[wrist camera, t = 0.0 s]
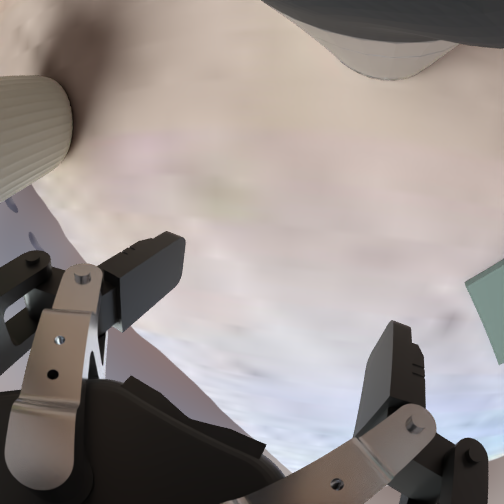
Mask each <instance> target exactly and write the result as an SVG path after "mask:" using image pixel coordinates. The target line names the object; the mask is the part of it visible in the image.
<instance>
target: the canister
mask: <svg viewBox="0 0 504 504" xmlns="http://www.w3.org/2000/svg"><path fill="white" fill-rule="evenodd" d="M72 123H73V120H72V112H71V107H70V101H69V100H68V96H67V95H66V93H65V90H64V89H63V88H62V86H61V85H60V84H58V82H56V81H55V80H53V79H51V78H49V77H44V76H35V75H30V76H3V77H0V203H1V202H3V201H4V200H6V199H7V198H9V197H11V196H12V195H14V194H16V193H17V192H19V191H20V190H22V189H24V188H25V187H27V186H28V185H30V184H32V183H33V182H35V181H36V180H38V179H40V178H41V177H43V176H45V175H46V174H48V173H49V172H51V171H52V170H54V169H55V168H56V167H57V166H58V165H59V164H60V163H61V162H62V161H63V159H64V157H65V156H66V154H67V151H68V149H69V147H70V143H71V137H72V129H73V126H72Z"/></svg>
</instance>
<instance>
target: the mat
mask: <svg viewBox="0 0 504 504" xmlns="http://www.w3.org/2000/svg"><path fill="white" fill-rule="evenodd" d="M465 285H466V288H467V290H468V292H469V294H470V296H471V298H472V301H473V303H474V305H475V307H476V309H477V312H478V314H479V316H480V318H481V321H482V323H483V325H484V328H485V330H486V333H487V335H488V338H489V340H490V343H491V345H492V348H493V350H494V353H495V356H496V358H497V361H498V364H499V365H500V364H502V363H504V259H503V260H501V261H500V262H498V263H497V264H495V265H493V266H492V267H490V268H488V269H487V270H485V271H483V272H482V273H480V274H478V275H477V276H475V277H473V278H471V279H470V280H468V281H466V282H465Z"/></svg>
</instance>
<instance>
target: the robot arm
mask: <svg viewBox="0 0 504 504" xmlns="http://www.w3.org/2000/svg"><path fill="white" fill-rule="evenodd" d="M261 1H263V2H264V3H266V4H267V5H269V6H270V7H272V8H273V9H274V10H276V11H277V12H279V13H280V14H282V15H283V16H284V17H286V18H287V19H289V20H290V21H291V22H293V23H294V24H296V25H297V26H298V27H300V28H301V29H302V30H304V31H305V32H306V33H308V34H309V35H310V36H311V37H313V38H314V39H315V40H316V41H318V42H319V43H320V44H321V45H323V46H324V47H325V48H326V49H327V50H329V51H330V52H331V53H332V54H333V55H334V56H336V57H337V58H338V59H339V60H340V62H342V63H343V64H344V65H346V66H347V67H349V68H350V69H352V70H354V71H355V72H357V73H359V74H362V75H364V76H367V77H369V78H374V79H378V80H391V81H394V80H400V79H406V78H408V77H411V76H413V75H416V74H417V73H419V72H420V71H422V70H423V69H425V68H427V67H428V66H430V65H431V64H432V63H434V62H435V61H436V60H438V59H439V58H441V57H442V56H443V55H445V54H446V53H448V52H449V51H450V50H452V49H453V48H455V47H456V46H458V45H459V44H465V45H470V46H479V47H489V48H499V49H501V48H504V0H261ZM185 244H186V242H185V239H184V238H183V237H181V236H178V235H176V234H173V233H171V232H168V231H166V232H164V233H162V234H160V235H158V236H157V237H155V238H153V239H152V238H150V239H146V240H142V241H138V242H137V243H135V244H133V245H132V246H130V248H126V249H125V250H123V251H122V253H121V252H120V253H118V254H116V255H115V256H113V257H111V258H110V259H108V260H106V261H105V262H103V263H102V264H100V265H98V266H95V265H92V264H76V265H73V266H71V267H69V268H68V269H67V270H66V271H65V270H62V269H58V268H55V267H52V266H51V259H50V256H49V254H48V253H46V252H44V251H39V250H35V251H29V252H27V253H24V254H22V255H20V256H19V257H17V258H15V259H14V260H12V261H10V262H9V263H7V264H5V265H4V266H2V267H0V375H2V373H4V372H5V371H6V370H7V369H8V368H9V367H10V366H11V365H13V364H14V363H15V362H16V361H17V360H18V359H19V358H21V357H22V356H23V355H24V354H25V353H26V352H27V351H29V349H31V351H30V355H29V359H28V362H27V366H26V370H25V375H24V379H23V384H22V389H21V390H14V391H5V392H0V504H364V503H365V502H366V501H368V500H369V499H370V498H371V497H373V496H374V495H375V494H376V493H377V492H379V491H380V490H381V489H382V488H383V487H385V486H386V485H389V486H390V487H392V488H394V489H395V490H397V491H399V492H400V493H401V498H400V502H399V504H487V502H488V456H487V452H486V450H485V448H484V447H483V446H482V444H481V443H479V442H478V441H477V440H475V439H472V438H464V439H462V440H460V441H459V442H458V443H457V444H456V445H455V444H453V443H452V442H450V441H448V440H447V439H445V438H444V437H442V436H440V435H439V434H438V433H436V423H435V420H434V418H433V416H432V415H431V414H430V412H429V411H428V410H426V401H425V378H424V377H425V370H424V356H423V354H422V352H421V350H420V348H419V346H418V345H417V344H414V343H412V337H411V327H409V326H406V325H404V324H401V323H398V322H396V321H393V320H391V321H390V322H389V324H388V325H387V327H386V329H385V330H384V332H383V334H382V336H381V337H380V339H379V341H378V342H377V344H376V346H375V347H374V349H373V351H372V352H371V354H370V357H369V359H368V362H367V365H366V370H365V377H364V383H363V389H362V394H361V400H360V405H359V410H358V415H357V420H356V425H355V430H354V434H353V438H352V439H350V440H349V441H347V442H346V443H344V444H342V445H341V446H339V447H338V448H336V449H334V450H333V451H331V452H329V453H328V454H326V455H324V456H323V457H321V458H319V459H318V460H316V461H314V462H312V463H311V464H309V465H307V466H305V467H303V468H302V469H300V470H298V471H296V472H294V473H292V474H290V475H289V476H287V477H285V476H284V474H283V473H282V471H281V470H280V469H279V468H278V467H277V466H276V465H275V464H274V463H273V462H272V461H271V460H270V459H269V458H267V457H266V456H264V455H263V454H262V453H263V451H264V449H265V447H266V444H264V443H262V442H259V441H257V440H254V439H252V438H250V437H247V436H245V435H243V434H240V433H238V432H236V431H234V430H232V429H228V428H224V427H220V426H215V425H211V424H207V423H203V422H199V421H196V420H192V419H190V418H188V417H187V416H186V415H184V414H183V413H182V412H181V411H180V410H179V409H178V408H177V407H175V406H174V405H173V404H172V403H171V402H170V401H169V400H168V399H167V398H166V397H164V396H163V395H162V394H161V393H160V392H158V391H156V390H154V389H153V388H151V387H149V386H148V385H146V384H144V383H143V382H141V381H139V380H138V379H136V378H134V377H133V376H130V377H129V378H128V379H127V380H126V381H125V382H124V383H122V382H118V381H114V380H108V379H105V368H106V352H107V339H108V331H107V330H108V329H109V328H110V327H111V326H113V327H114V328H116V329H117V330H119V331H121V332H124V331H125V330H126V329H127V328H128V327H129V326H131V325H132V324H133V323H134V322H135V321H136V320H138V319H139V318H140V317H141V316H142V315H143V314H145V313H146V312H147V311H148V310H149V309H150V308H151V307H153V306H154V305H155V304H156V303H157V302H158V301H160V300H161V299H162V298H163V297H164V296H165V295H166V294H168V293H169V292H170V291H171V290H172V289H173V288H175V287H176V285H177V284H178V283H179V281H180V278H181V276H182V270H183V261H184V253H185ZM23 296H24V300H25V304H26V307H25V308H24V309H23V310H21V311H20V312H19V313H17V314H16V315H15V316H13V317H12V318H11V319H9V320H8V321H7V322H6V323H5V322H4V312H5V310H6V309H7V308H8V307H9V306H10V305H11V304H13V303H14V302H16V301H17V300H18V299H20V298H21V297H23Z"/></svg>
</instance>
